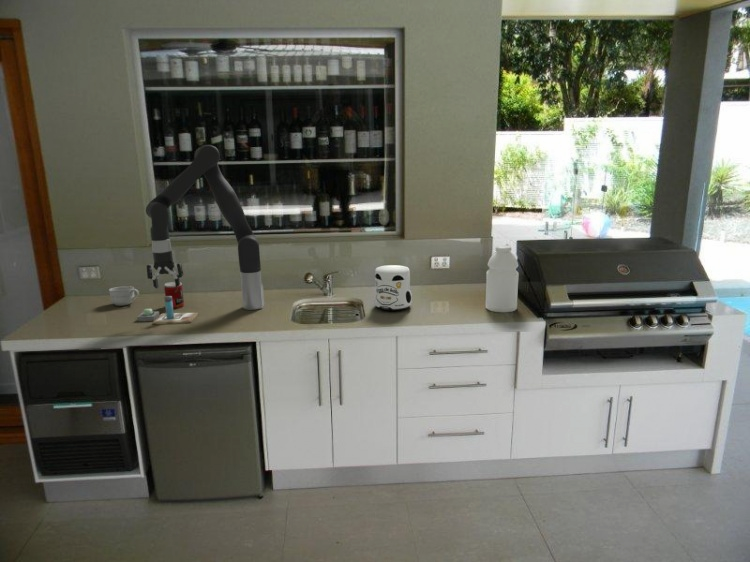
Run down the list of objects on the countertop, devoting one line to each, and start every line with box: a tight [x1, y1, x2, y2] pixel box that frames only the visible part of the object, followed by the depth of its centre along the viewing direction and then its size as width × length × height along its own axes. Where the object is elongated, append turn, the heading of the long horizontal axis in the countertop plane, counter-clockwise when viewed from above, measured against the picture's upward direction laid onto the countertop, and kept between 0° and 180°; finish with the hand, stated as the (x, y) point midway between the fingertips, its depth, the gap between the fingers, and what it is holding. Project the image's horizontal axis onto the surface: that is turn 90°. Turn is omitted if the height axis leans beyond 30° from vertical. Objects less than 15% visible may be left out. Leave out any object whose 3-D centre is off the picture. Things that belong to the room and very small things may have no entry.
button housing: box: [136, 310, 161, 322], centre depth 244 cm, size 7×7×2 cm
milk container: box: [373, 264, 413, 312], centre depth 251 cm, size 17×17×18 cm
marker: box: [163, 296, 175, 319], centre depth 240 cm, size 3×3×9 cm
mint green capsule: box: [142, 308, 154, 316], centre depth 244 cm, size 4×4×3 cm
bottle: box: [484, 244, 520, 313], centre depth 246 cm, size 14×14×28 cm
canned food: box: [163, 281, 185, 310], centre depth 260 cm, size 8×8×11 cm
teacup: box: [108, 285, 140, 306], centre depth 265 cm, size 14×11×8 cm
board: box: [152, 312, 199, 325], centre depth 243 cm, size 16×12×1 cm
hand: (167, 287), depth 237 cm, fingers open, 8 cm apart
